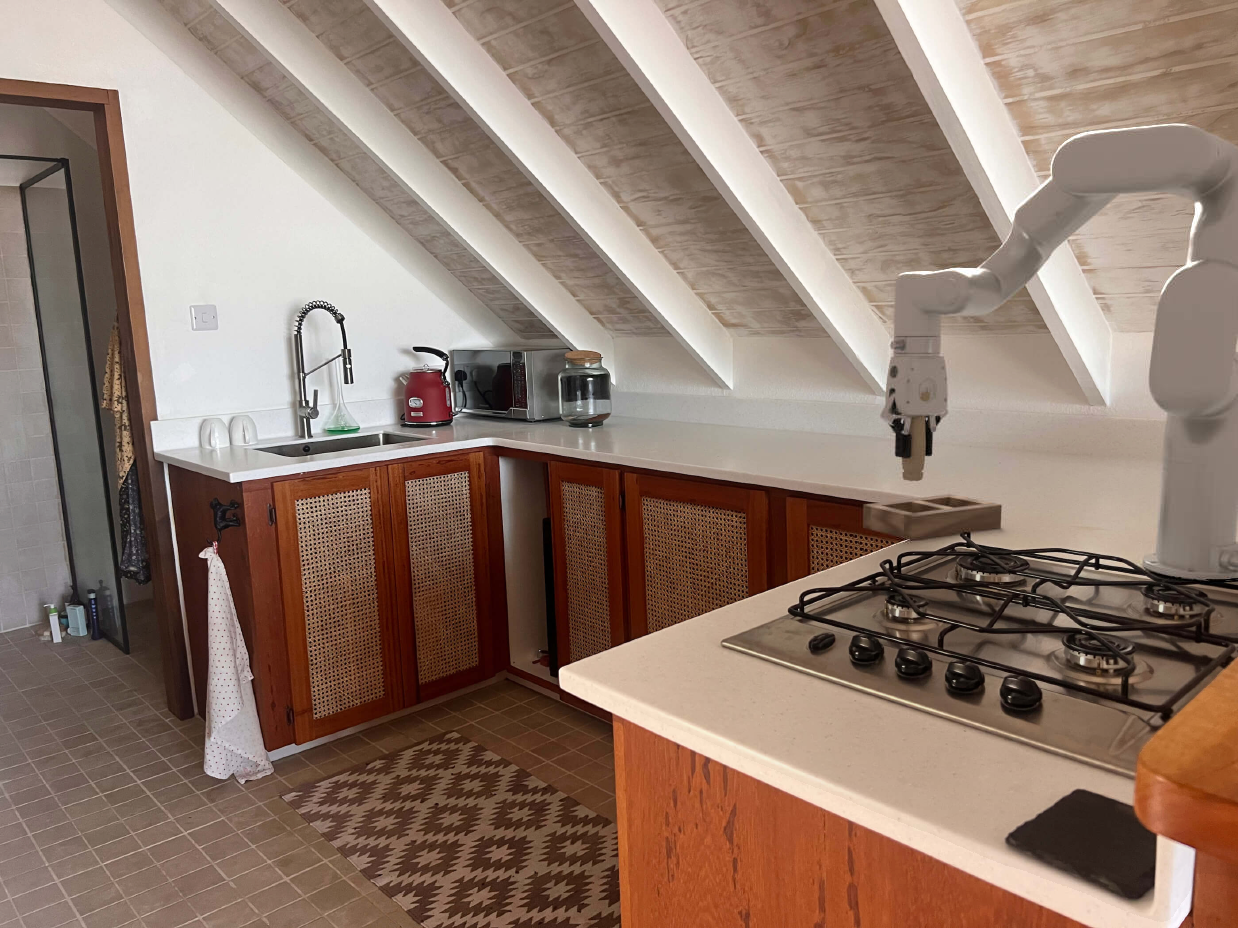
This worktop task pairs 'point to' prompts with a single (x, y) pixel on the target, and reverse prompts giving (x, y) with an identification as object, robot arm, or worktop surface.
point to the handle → (916, 447)
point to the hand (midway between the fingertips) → (913, 455)
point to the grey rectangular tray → (931, 516)
